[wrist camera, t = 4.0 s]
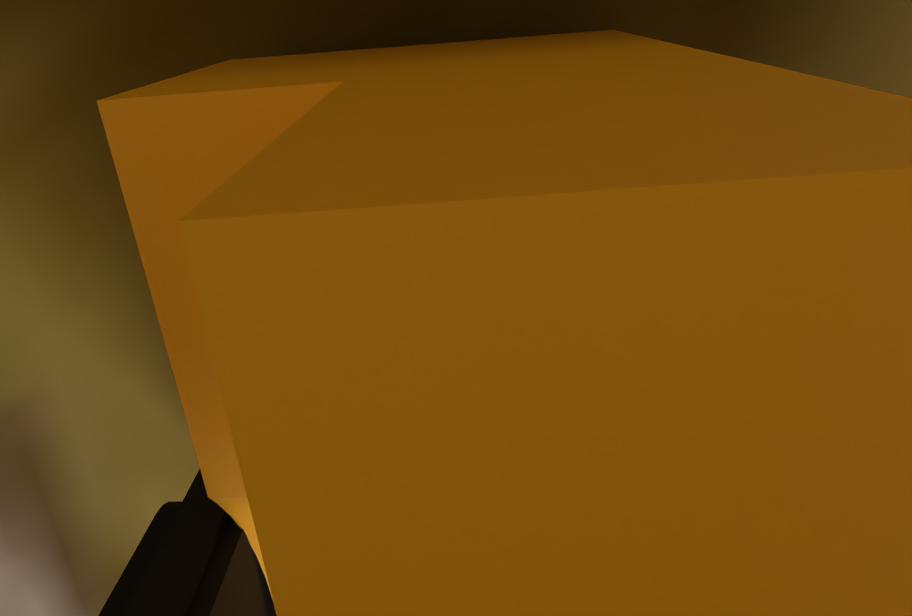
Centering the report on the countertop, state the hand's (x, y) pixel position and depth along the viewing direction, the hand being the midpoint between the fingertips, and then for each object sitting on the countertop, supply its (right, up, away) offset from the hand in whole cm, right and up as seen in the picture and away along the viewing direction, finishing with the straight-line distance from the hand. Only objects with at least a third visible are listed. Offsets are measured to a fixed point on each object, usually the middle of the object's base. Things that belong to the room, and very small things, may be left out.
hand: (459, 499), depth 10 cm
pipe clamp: (0, 0, +1) cm, 1 cm away
